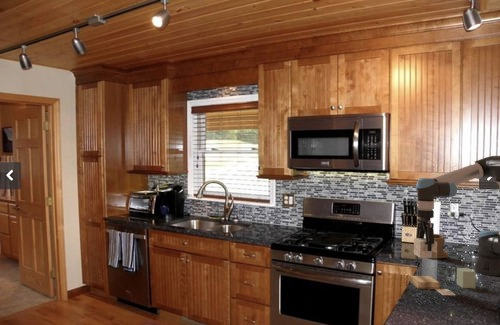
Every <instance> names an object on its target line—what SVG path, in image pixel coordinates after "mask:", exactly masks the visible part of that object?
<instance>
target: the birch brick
mask: <svg viewBox="0 0 500 325" xmlns="http://www.w3.org/2000/svg"><path fill="white" fill-rule="evenodd" d="M425 243H426V237H424V238H417V237H416V238H415V237H414V238H413V255H415V256H417V257H418V258H420V259H427V258H426V257H425V252H426V244H425ZM431 259H438V258H437V241H434V244H432V258H431Z"/></svg>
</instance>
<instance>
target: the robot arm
mask: <svg viewBox="0 0 500 325" xmlns="http://www.w3.org/2000/svg"><path fill="white" fill-rule="evenodd" d="M483 178H495V179H494V180H495V183H497V185H498V186H499V187H498V188H499V191H500V155H491V156H485V157H484V158H481V159H480V158H479V160H476V161H475V160H474V161H472V162H470V163H469V165H467V166H464V167H461V168H459V169H454V170H453V171H450V172H446V173H444V174H442V175H438V176H436V177H433V178H431V177H430V178H428V177H427V178H425V177H419V178H418V179H417V182H416V185H415V191H416V193H417V194H416V195H417V196H416V198H417V202H416V206H417V209H416V216H417V227H416V228H417V229H416V235H415V236H416V238H426V243H425V244H426V252H425V257H426V258H425V259H433V258H432V244H434V234H435V233H434V232H435V230H434V225H435V224H434V223H433V222H432V221H431V219H433V218H434V217H435V216H434V215H435V211H434V209H435V198H454V197H455V196H456V195H457V192H458V187H457V185H461V184H464V183H466V182H468V181H471V180H474V179H477V180H480V179H483ZM477 242H478V257H477V260H476V262H475V265H474V271H475V272H476V273H479V274H483V275H487V276H493V277H500V230H481V231H479V233H478V241H477Z"/></svg>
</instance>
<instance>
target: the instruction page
mask: <svg viewBox="0 0 500 325" xmlns="http://www.w3.org/2000/svg"><path fill="white" fill-rule="evenodd" d="M434 290H435V291H436V292H438V293H439V294H440V295H442V296H456V294H455V293H454V292H453V291H452V290H450V289H448V288H440V289H434Z"/></svg>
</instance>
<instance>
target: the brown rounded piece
mask: <svg viewBox="0 0 500 325" xmlns="http://www.w3.org/2000/svg"><path fill="white" fill-rule="evenodd" d="M434 241H437V258H436V259H448V258H449V257H450V255H449V254H448V252H447V251H444V246H445V243H446V240H445V236H444V235H442V234H439V233H434Z"/></svg>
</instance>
